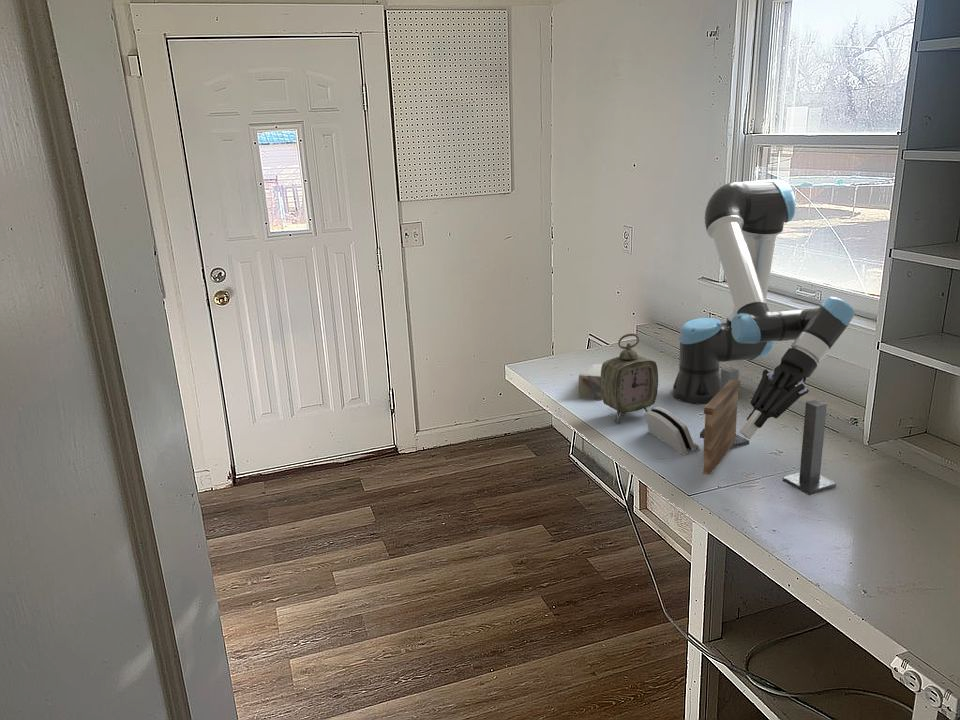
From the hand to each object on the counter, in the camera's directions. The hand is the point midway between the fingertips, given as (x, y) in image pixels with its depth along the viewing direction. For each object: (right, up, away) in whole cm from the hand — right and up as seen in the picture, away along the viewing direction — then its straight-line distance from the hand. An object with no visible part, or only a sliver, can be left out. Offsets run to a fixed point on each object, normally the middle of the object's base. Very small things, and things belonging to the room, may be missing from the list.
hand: (744, 435), depth 176 cm
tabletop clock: (-20, +1, +39) cm, 44 cm away
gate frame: (+8, -7, +8) cm, 13 cm away
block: (-25, +8, +63) cm, 68 cm away
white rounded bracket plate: (-12, -4, +22) cm, 25 cm away
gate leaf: (-4, -6, +8) cm, 11 cm away
